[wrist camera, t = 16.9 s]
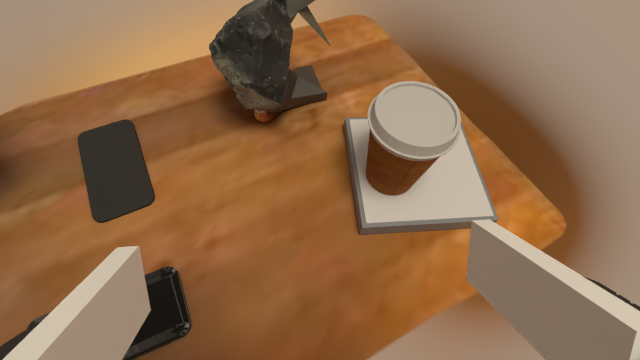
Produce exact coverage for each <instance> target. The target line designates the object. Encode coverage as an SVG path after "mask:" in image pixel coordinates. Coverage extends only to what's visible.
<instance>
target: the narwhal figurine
mask: <svg viewBox="0 0 640 360" xmlns="http://www.w3.org/2000/svg"><path fill="white" fill-rule="evenodd" d="M313 1H314V0H254V1H253V2H251V3H249V4H247V5H245V6H244V7H242V8H241V9H240V10H239V11H238V12H237V14H236V15H235V16H233V17H232V18H231V19H229V20H228V21H227V22H226V23H225V25H224V26H223V28H222V29H221V30H220V31H219V32H218V33H217V35H216V38H215V39H214V40H213V41H212V42H211V43H210V45H209V50H210V51H211V58H212V60H213V62H214V64H215V66H216V67H217V68H218V69H219V70H220V71H221V73H222V74H223V76H224V77H225V79H226V80H227V82H228V83H229V85H230V86H231V87H232V89H233V90H234V92H235V95H236V97H237V99H238V100H239V102H241V104H242V106H243V108H245V109H250V110H253V109H254V115H255V117H256V119H257V120H259V121H261V122H265V123H266V122H270V121H272V120H273V118H274V117H275V116H276V115H277V114H279V113H280V112H281V111H283V110H286V109H290V108H294V107H298V106H301V105H305V104H309V103H313V102H318V101H323V100H326V99H327V92H326V91H324V90H322V89H321V86H320V84H319V82H318V79H317V77H316V75H315V72H314V70H313V68H312V66H305V67H300V68H296V69H295V70H294V72H292V71H291V70H290V69H289V58H290V48H291V43H292V39H293V29H292V27H291V23H292V21H293V19H294V18H295V16H296V14H297V13H299V14H300V15H301V16H302V17H303V18H304V19H305V20H306V21H307V22H308V23H309V24H310V25H311V26H312V27H313V28H314V30H315V31H316V32H317V33H318V34H319V35H320V36H321V37H322V38H323V39H324V40H325V41H326V42H327V43H328V44H329V42H328V41H327V39H326V37H325V35H324V34H323V32H322V30H321V29H320V27H319V25H318V23H317V22H316V20H315V18H314V17H313V15H312V13H311V12H310V10H309V8H308V6H307V5H309V4H310V3H312V2H313ZM329 45H330V44H329Z"/></svg>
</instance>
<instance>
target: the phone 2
mask: <svg viewBox="0 0 640 360" xmlns="http://www.w3.org/2000/svg"><path fill="white" fill-rule="evenodd" d="M144 276H145V281H146V287H147V292H148V297H149V303H150V308H151V311H150V312H149V314H148V316H147V317H146V319H145V321H144V323H143V324H142V326H141V328H140V330H139V331H138V333H137V335H136V336H135V338H134V340H133V342H132V343H131V345H130V347H129V349H128V350H127V352H126V354H125V355H124V357H123V359H122V360H133V359H136V358H138V357H140V356H142V355H144V354H147V353H149V352H151V351H153V350H155V349H158V348H160V347H162V346H164V345H167V344H169V343H171V342H173V341H175V340H178V339H180V338H182V337H184V336H185V335H187V334H188V332H189V331H190V329H191V319H190V315H189V311H188V307H187V303H186V299H185V295H184V291H183V287H182V283H181V279H180V275H179V273H178V271H177V270H176V269H174V268H173V267H164V268H162V269H159V270H157V271H154V272H152V273H149V274H147V275H144ZM50 313H51V312H50ZM50 313H48V314H45V315H43V316H40V317H38V318H36V319H34V320H33V321H32V322H31V323H30V324H29V326H28V328H27V330H33V329H34V328H35V327H36V326H37V325H38V324H39V323H40V322H41V321H42V320H44V319H45V318H46V317H47V316H48V315H49V314H50Z"/></svg>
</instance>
